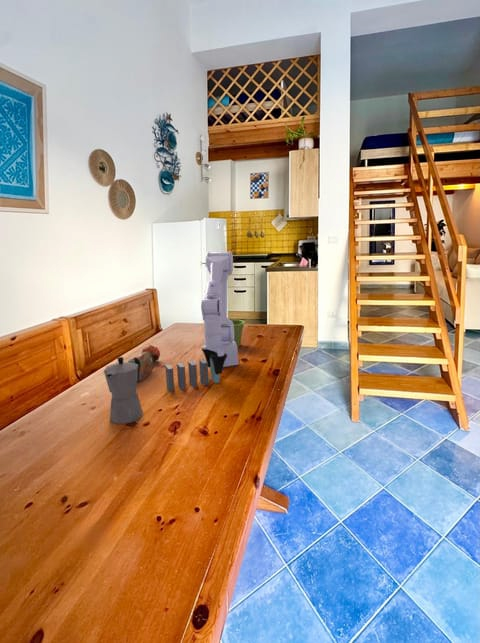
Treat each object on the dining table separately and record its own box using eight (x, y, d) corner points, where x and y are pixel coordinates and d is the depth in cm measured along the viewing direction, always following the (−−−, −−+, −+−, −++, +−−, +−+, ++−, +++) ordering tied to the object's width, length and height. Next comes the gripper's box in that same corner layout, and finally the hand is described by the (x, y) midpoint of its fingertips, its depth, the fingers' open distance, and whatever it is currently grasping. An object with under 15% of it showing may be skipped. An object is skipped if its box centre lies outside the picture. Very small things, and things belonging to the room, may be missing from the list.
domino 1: (171, 386, 130) (169, 364, 128) (174, 391, 126) (173, 368, 124) (166, 387, 130) (165, 365, 128) (169, 391, 126) (168, 369, 124)
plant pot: (234, 341, 183) (233, 318, 180) (250, 346, 174) (250, 322, 171) (214, 346, 175) (213, 322, 173) (230, 351, 166) (229, 326, 164)
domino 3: (193, 382, 133) (192, 360, 131) (197, 386, 129) (196, 364, 127) (189, 383, 133) (188, 361, 131) (193, 387, 129) (191, 365, 127)
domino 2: (182, 384, 132) (181, 362, 130) (186, 388, 128) (184, 366, 126) (178, 385, 131) (176, 363, 129) (181, 389, 127) (180, 367, 125)
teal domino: (215, 378, 136) (214, 357, 134) (219, 382, 132) (218, 360, 130) (210, 378, 136) (209, 357, 134) (215, 383, 132) (214, 361, 130)
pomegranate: (161, 368, 154) (163, 348, 160) (156, 359, 148) (158, 338, 155) (143, 371, 154) (146, 351, 161) (137, 361, 149) (140, 340, 155)
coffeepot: (127, 429, 102) (121, 366, 98) (98, 425, 104) (90, 363, 100) (156, 405, 116) (151, 349, 112) (129, 402, 119) (124, 347, 115)
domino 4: (204, 380, 135) (203, 358, 133) (208, 384, 131) (207, 362, 129) (200, 380, 134) (199, 359, 132) (204, 385, 130) (203, 363, 128)
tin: (137, 384, 133) (135, 361, 131) (129, 383, 134) (126, 361, 132) (154, 369, 147) (153, 348, 145) (147, 368, 148) (145, 348, 146)
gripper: (195, 329, 135) (197, 365, 138) (208, 339, 122) (210, 379, 125) (214, 327, 138) (215, 362, 141) (229, 336, 125) (230, 375, 128)
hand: (214, 370), depth 133 cm, fingers open, 7 cm apart
